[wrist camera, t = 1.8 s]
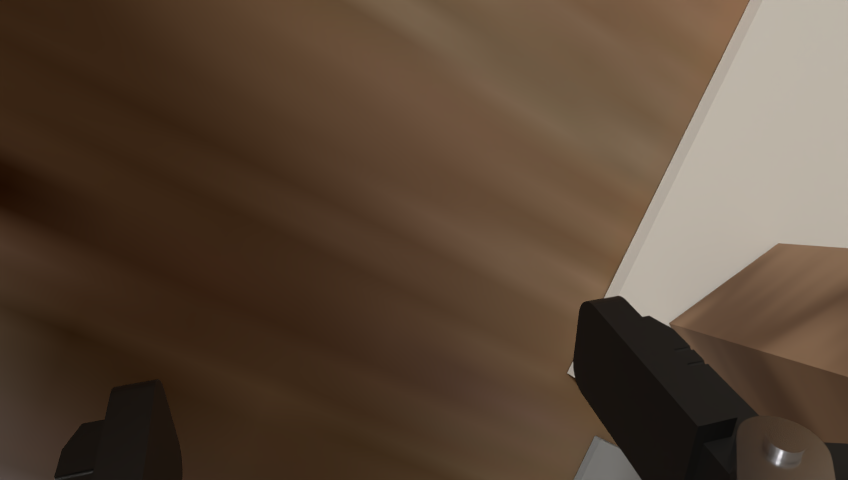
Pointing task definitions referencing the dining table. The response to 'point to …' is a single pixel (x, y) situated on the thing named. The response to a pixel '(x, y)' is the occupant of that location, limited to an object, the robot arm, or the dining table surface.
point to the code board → (750, 161)
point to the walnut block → (781, 336)
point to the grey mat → (605, 463)
